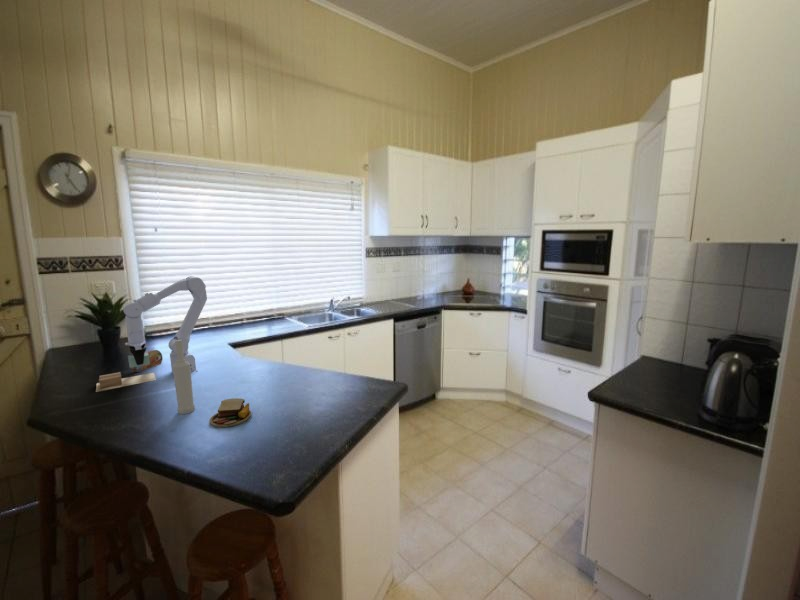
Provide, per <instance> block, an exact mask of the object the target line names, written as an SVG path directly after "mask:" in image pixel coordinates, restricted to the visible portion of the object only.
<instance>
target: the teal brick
mask: <svg viewBox="0 0 800 600" xmlns="http://www.w3.org/2000/svg"><path fill="white" fill-rule="evenodd" d="M127 359H128V364H129V369H132V367H138V366H144V365H149V364H150V360H149V354H148V353H145V354H144V362H143V364H141V365H137V364H136V361H135V358H134V356H133V354H132V355H127Z"/></svg>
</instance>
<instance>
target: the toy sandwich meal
mask: <svg viewBox="0 0 800 600" xmlns="http://www.w3.org/2000/svg"><path fill="white" fill-rule="evenodd" d="M220 402H221V403H220V405H219V407H218V408H217V413H215V414H214V415H212V416H210V419H209V421H208V422H209V424H211V425H212V426H213V427H216V428H230V427H235V426H237V425H241V424H243V423H245V422H246V421H248V420H249V418H250V417H251V416H252V411H251V410H250V403H249V402H248V403H246V404H245V399H244V398H240V397H239V398H238V397H237V398H227V399H224V400H221V401H220ZM244 404H245V405H244Z"/></svg>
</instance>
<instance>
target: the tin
mask: <svg viewBox="0 0 800 600" xmlns="http://www.w3.org/2000/svg"><path fill="white" fill-rule="evenodd" d="M145 353H148V354H149V360H150V364H149V365H144V366H138V367H132V368H131V370H132V371H133V372H135V373H140V372H142V371H146V370H147V369H150V368H153V367H156V366H158V365H161V364H162V363H163V354H162V352H161V351H160V350H158V349H153V350H148V351H145Z"/></svg>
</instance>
